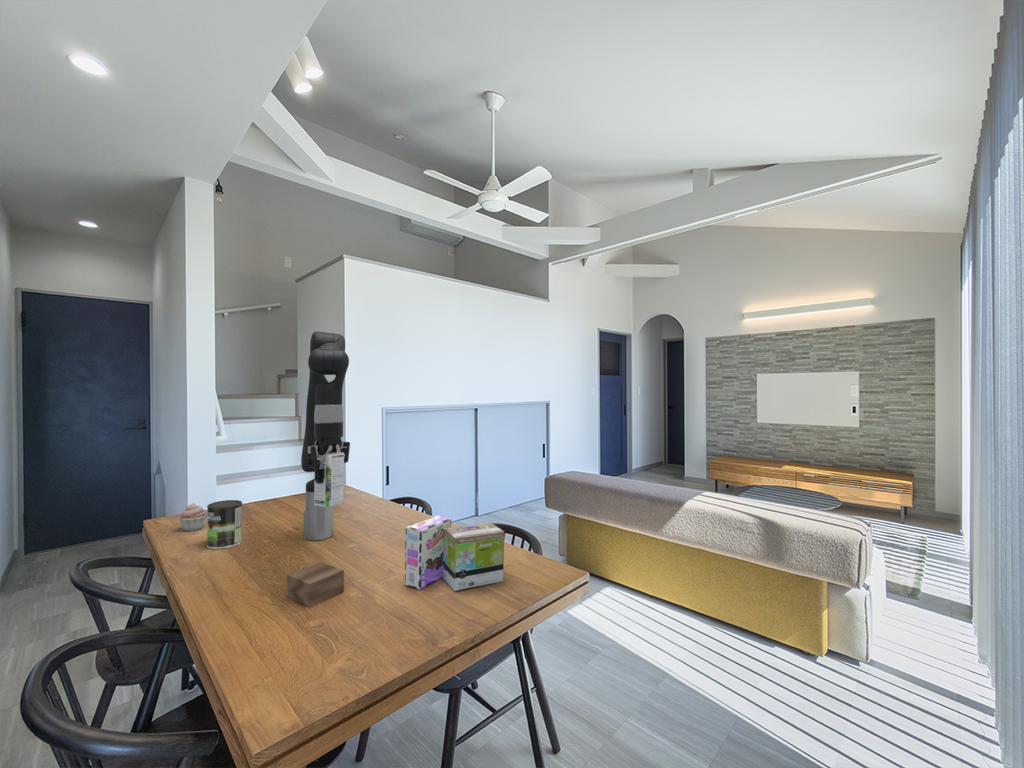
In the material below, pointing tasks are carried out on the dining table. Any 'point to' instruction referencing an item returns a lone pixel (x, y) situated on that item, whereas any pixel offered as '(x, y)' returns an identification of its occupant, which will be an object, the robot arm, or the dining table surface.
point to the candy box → (425, 551)
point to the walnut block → (315, 584)
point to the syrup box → (331, 481)
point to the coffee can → (224, 524)
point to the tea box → (473, 555)
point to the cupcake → (193, 518)
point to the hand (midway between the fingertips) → (328, 480)
